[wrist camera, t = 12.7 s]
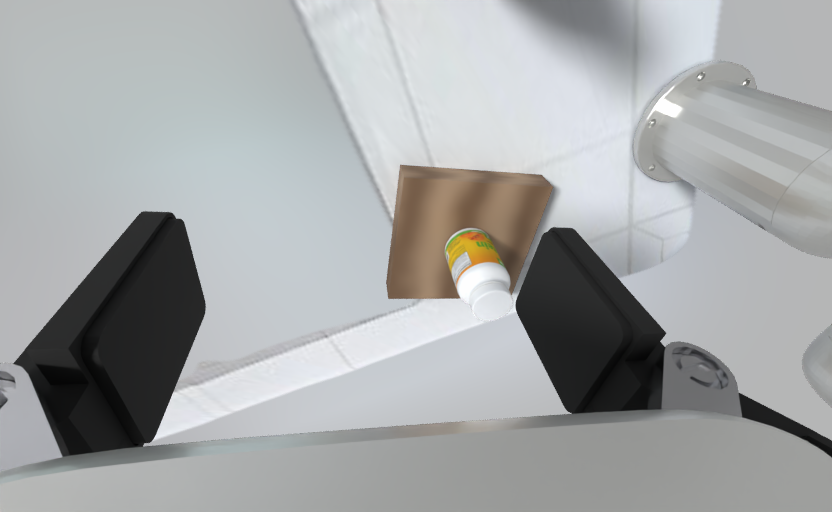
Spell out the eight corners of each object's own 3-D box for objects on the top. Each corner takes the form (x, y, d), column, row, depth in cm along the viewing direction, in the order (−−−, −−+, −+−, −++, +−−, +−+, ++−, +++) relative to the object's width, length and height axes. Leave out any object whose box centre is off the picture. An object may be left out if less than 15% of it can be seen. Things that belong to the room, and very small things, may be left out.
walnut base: (541, 175, 42) (553, 187, 40) (502, 283, 51) (510, 298, 49) (400, 164, 39) (403, 177, 36) (386, 282, 48) (388, 298, 46)
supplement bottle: (499, 238, 43) (532, 297, 35) (469, 271, 45) (494, 333, 37) (464, 218, 40) (491, 277, 33) (434, 253, 43) (453, 316, 35)
